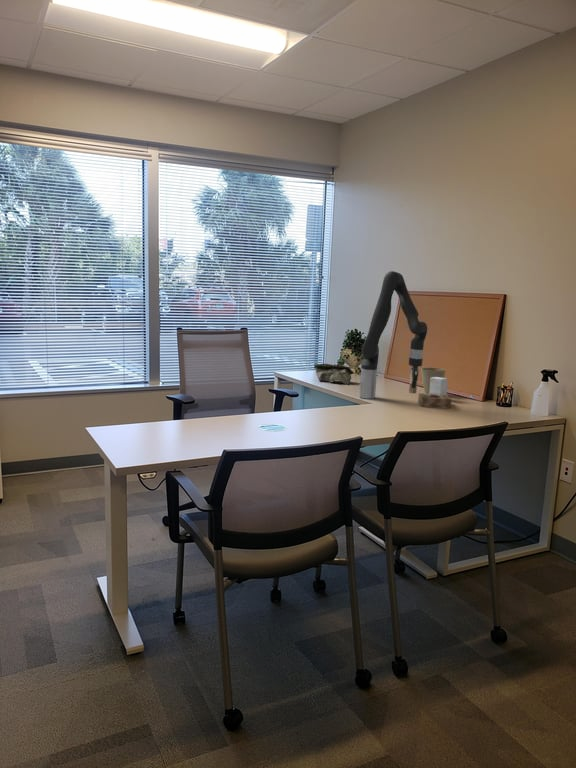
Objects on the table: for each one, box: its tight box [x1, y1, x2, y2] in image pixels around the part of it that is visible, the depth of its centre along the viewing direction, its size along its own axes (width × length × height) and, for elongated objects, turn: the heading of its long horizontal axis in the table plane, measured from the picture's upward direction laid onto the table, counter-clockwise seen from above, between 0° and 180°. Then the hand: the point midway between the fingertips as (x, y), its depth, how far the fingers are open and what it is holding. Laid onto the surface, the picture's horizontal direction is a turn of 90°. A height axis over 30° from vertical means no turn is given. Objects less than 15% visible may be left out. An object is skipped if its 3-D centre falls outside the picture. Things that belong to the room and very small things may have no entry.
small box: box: [429, 377, 448, 396], centre depth 344 cm, size 8×6×13 cm
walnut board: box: [417, 393, 452, 409], centre depth 327 cm, size 16×14×5 cm
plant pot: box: [420, 366, 446, 394], centre depth 360 cm, size 15×15×16 cm
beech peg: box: [408, 374, 418, 394], centre depth 326 cm, size 4×4×10 cm
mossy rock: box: [313, 363, 355, 385], centre depth 392 cm, size 28×13×15 cm
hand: (413, 387), depth 326 cm, fingers closed on beech peg, 4 cm apart
